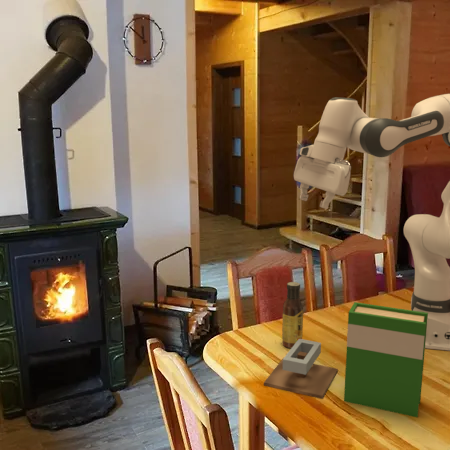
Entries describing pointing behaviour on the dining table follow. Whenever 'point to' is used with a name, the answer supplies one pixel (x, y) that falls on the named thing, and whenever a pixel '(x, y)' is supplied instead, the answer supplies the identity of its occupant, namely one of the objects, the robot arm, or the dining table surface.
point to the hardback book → (385, 358)
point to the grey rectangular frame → (298, 364)
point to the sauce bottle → (292, 316)
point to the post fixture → (302, 379)
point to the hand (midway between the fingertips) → (312, 203)
